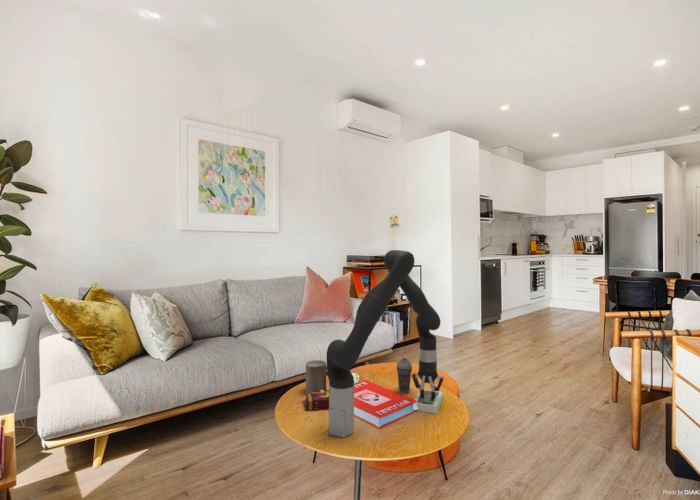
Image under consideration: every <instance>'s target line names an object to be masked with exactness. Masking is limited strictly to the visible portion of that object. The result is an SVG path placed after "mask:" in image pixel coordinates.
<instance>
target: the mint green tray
mask: <svg viewBox="0 0 700 500" xmlns="http://www.w3.org/2000/svg"><path fill="white" fill-rule="evenodd" d="M423 389H424V388H423ZM426 390H428V391H432V389H431V390H430V389H424V392H425V391H426ZM435 392H436V398H435V401H432V403H431V405H429V404H422V403H421V401H422V399H421V397H420V390H419V391H418V392H417V394H416V396H415V397H414V399H413V401H414V400H416V401H417V402H418V403H416V404H417V407H418V409H417V412H423V413H428V414H434V415H437V414H438V411H439V409H440V407H441V404H442V402H443V400H444V391H440V390H439V391H435Z"/></svg>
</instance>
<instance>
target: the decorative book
mask: <svg viewBox="0 0 700 500" xmlns="http://www.w3.org/2000/svg"><path fill="white" fill-rule="evenodd" d="M304 395H305V399H304V400H303V402H302V404H304V405H305V407H306V411H314V412H319V411H320V410H329V389H328V390H327V389H326V391H324V390H320V391H306V390H305V391H304Z"/></svg>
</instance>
